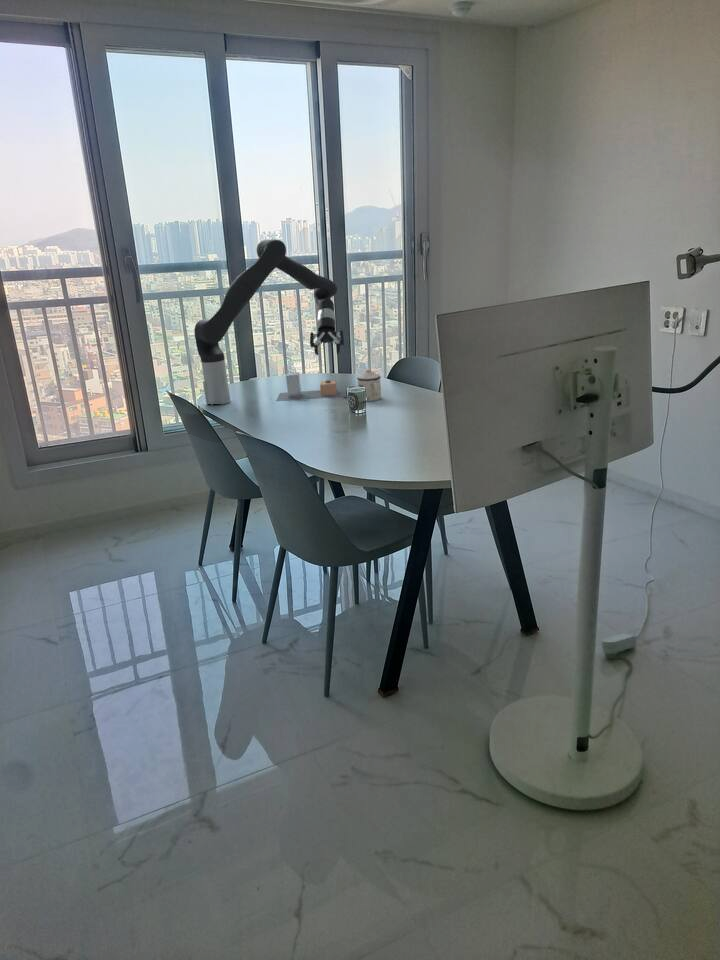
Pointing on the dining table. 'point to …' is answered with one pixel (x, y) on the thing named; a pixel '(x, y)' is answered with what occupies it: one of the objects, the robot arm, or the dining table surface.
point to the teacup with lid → (370, 384)
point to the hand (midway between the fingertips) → (327, 353)
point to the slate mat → (311, 395)
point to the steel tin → (293, 384)
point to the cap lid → (328, 387)
